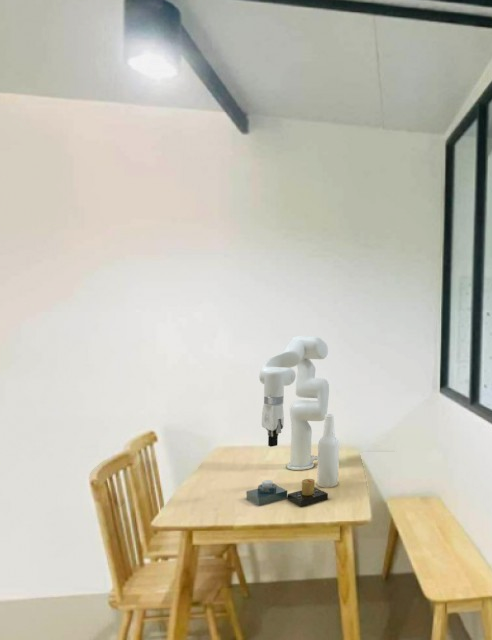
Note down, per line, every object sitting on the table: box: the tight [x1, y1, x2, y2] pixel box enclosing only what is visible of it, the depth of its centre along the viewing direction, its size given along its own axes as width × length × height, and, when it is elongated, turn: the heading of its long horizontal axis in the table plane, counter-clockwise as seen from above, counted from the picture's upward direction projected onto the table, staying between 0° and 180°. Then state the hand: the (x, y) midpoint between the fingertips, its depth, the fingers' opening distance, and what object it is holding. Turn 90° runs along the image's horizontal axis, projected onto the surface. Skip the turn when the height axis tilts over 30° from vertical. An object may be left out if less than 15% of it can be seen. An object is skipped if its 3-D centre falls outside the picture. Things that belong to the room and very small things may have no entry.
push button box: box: [246, 482, 288, 507], centre depth 199 cm, size 12×10×5 cm
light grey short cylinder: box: [261, 479, 274, 488], centre depth 199 cm, size 4×4×2 cm
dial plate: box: [287, 486, 329, 508], centre depth 198 cm, size 12×10×3 cm
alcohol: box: [316, 413, 340, 489], centre depth 217 cm, size 9×9×30 cm
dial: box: [301, 478, 316, 496], centre depth 198 cm, size 5×5×5 cm
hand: (272, 445), depth 203 cm, fingers closed
